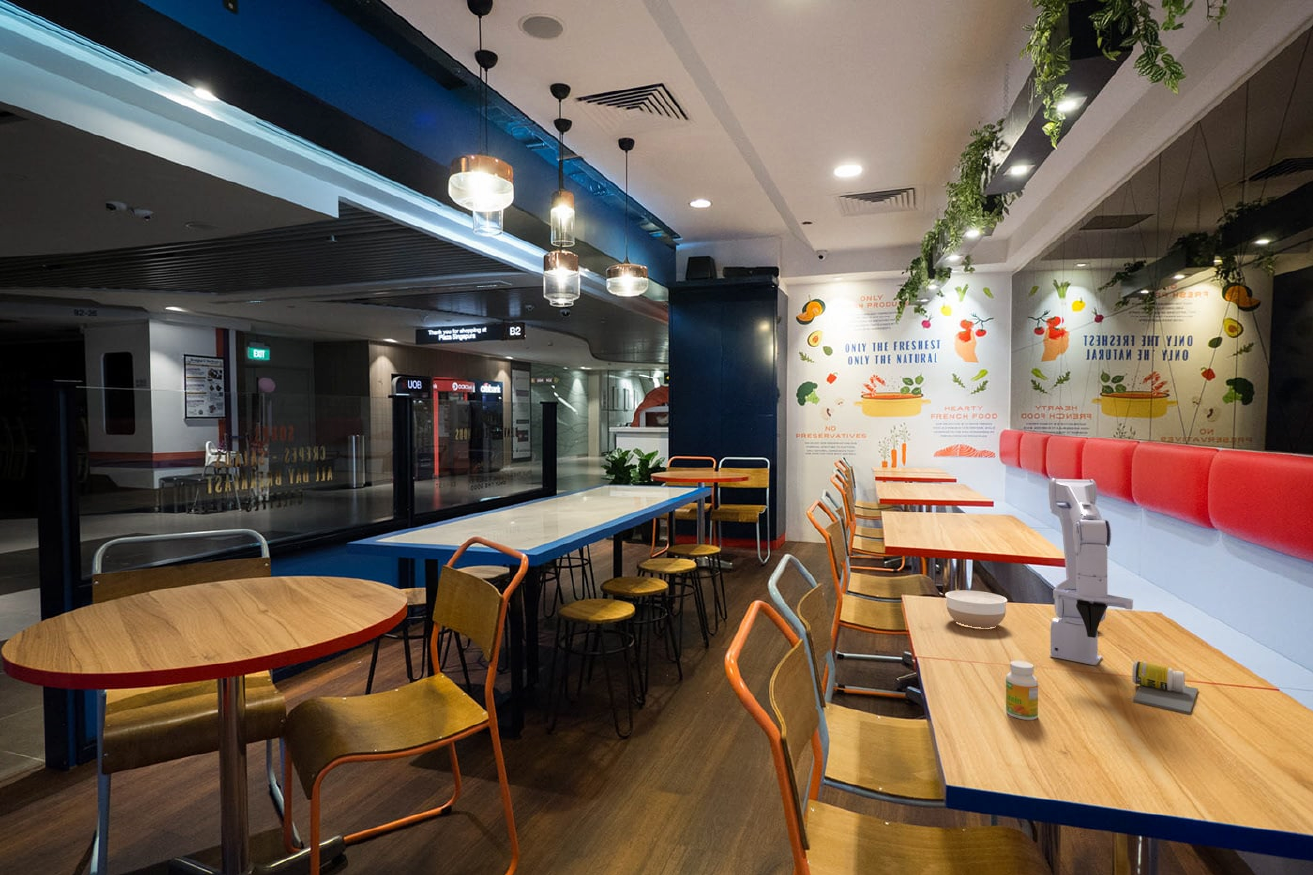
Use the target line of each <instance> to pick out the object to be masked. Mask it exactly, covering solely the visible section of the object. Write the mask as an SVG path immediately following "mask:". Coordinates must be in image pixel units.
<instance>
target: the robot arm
mask: <svg viewBox="0 0 1313 875" xmlns="http://www.w3.org/2000/svg"><path fill="white" fill-rule="evenodd" d="M1048 482H1049V483H1048V498H1049V508H1050V510H1051V511H1050V512H1051V514H1053V515H1054V516H1057V517H1058V518H1059V522H1060V525H1061V532H1062V542H1063V543H1062V544H1063V554H1064V565H1065V573H1066V575H1065V578H1066V579H1065V580H1063V581H1061V582H1059V583H1058V584H1056V587H1055V588H1054V589H1053V590H1052V596H1053V597H1052V599H1054V612H1055V616H1056V617H1053V618H1052V620H1051V623H1050V654H1049V657H1050V658H1054V659H1055V658H1056V659H1061V660H1065V661H1070V662H1076V663H1081V664H1086V665H1090V666H1097V665H1098V664H1099V662H1100V661H1101V660H1102V659H1103V655H1101V654H1098V650H1099V649H1098V648H1099V647H1098V644H1099V643H1098V639H1099V638H1098V635H1099V634H1098V629H1099V627H1100V623H1101V622H1102V623H1103V621H1104V620H1105V619H1106V614H1107V612H1106V611H1107V609H1108V607H1115V608H1121V609H1125V610H1130V611H1132V610H1133V608H1134V599H1133V598H1129V597H1122V596H1117V595H1112V594H1108V547H1110V546H1111V541H1112V529H1111V524H1110V521H1109V520H1108V519H1104V518H1102V516H1101V514H1100V511H1099V509H1098V507H1097V506H1096V503H1097V500H1098V499H1097V498H1098V485H1097V482H1096V481H1095V480H1094V479H1093V478H1090V479H1077V478H1076V479H1074V478H1073V479H1069V478H1068V479H1066V478H1065V479H1064V478H1051V479H1050V480H1049V481H1048Z"/></svg>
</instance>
